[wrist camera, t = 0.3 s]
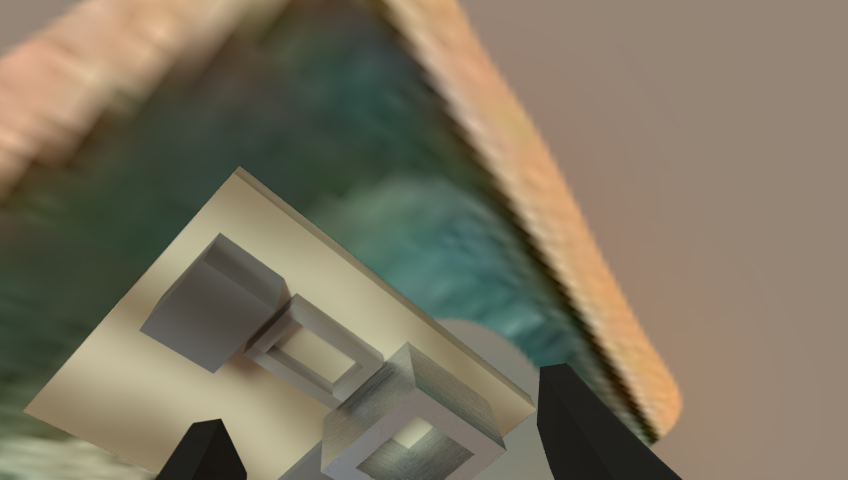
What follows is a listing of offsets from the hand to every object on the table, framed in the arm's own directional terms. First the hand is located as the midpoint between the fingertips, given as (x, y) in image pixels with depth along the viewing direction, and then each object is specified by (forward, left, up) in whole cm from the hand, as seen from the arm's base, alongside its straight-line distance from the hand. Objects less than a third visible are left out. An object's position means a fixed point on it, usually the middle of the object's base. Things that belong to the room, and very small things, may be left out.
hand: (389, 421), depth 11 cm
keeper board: (-8, -3, -10) cm, 13 cm away
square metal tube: (-5, -7, -9) cm, 13 cm away
